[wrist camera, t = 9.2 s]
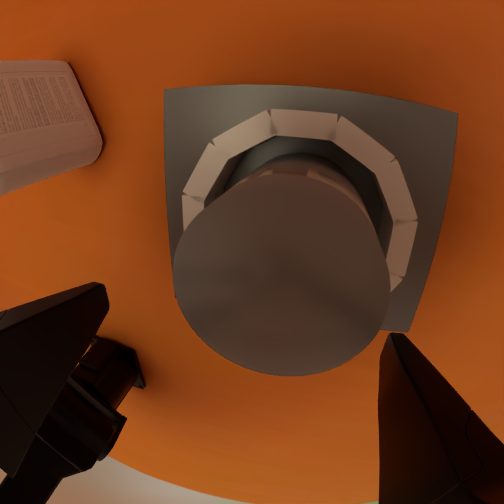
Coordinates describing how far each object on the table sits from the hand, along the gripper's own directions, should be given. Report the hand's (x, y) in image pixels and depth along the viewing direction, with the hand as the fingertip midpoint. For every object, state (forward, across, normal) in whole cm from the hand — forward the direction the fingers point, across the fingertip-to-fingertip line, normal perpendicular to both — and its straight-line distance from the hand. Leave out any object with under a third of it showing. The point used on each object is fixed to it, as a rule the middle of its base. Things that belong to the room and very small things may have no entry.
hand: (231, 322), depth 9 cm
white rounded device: (+12, +18, -7) cm, 23 cm away
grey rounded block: (+7, -1, -1) cm, 7 cm away
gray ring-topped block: (+12, -1, -1) cm, 12 cm away
